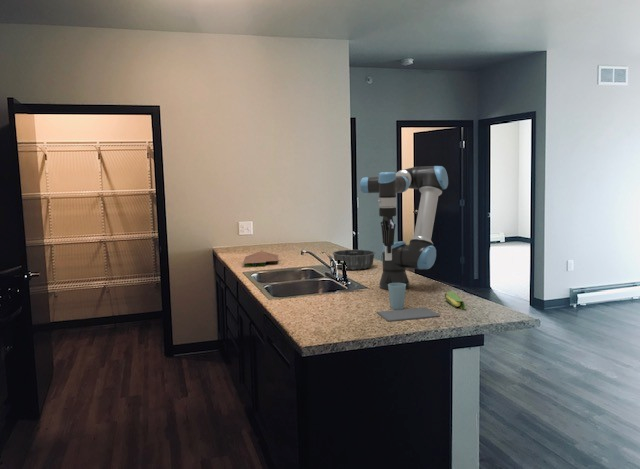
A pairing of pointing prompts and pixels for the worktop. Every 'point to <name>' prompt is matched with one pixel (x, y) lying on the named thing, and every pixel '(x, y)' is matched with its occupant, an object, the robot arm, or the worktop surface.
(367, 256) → the bundt pan
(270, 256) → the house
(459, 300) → the edible corn
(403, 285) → the cup
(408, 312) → the mat
